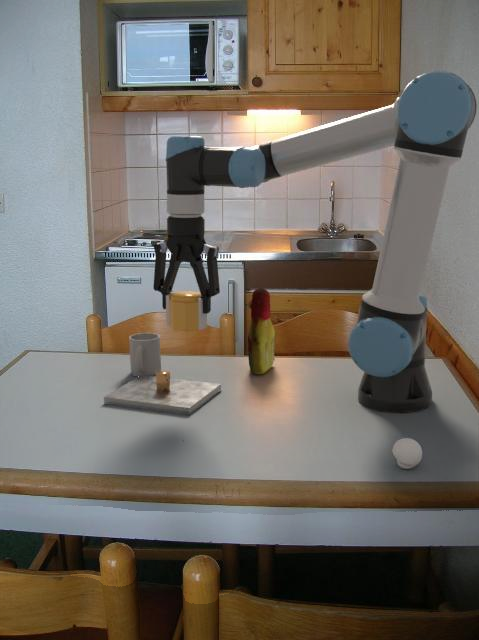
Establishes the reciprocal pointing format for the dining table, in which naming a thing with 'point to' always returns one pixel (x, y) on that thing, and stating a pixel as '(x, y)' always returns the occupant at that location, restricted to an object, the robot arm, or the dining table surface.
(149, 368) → the cup
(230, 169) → the robot arm
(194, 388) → the plate
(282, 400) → the dining table surface
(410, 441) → the mushroom
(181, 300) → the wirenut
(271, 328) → the bottle
